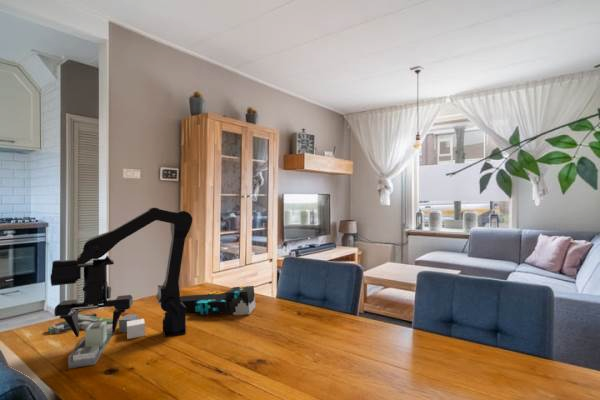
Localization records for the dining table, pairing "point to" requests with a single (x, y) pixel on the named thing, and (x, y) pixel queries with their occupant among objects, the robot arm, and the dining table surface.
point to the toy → (222, 301)
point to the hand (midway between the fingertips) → (95, 334)
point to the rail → (88, 352)
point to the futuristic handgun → (83, 323)
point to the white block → (124, 321)
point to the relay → (135, 328)
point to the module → (96, 334)
